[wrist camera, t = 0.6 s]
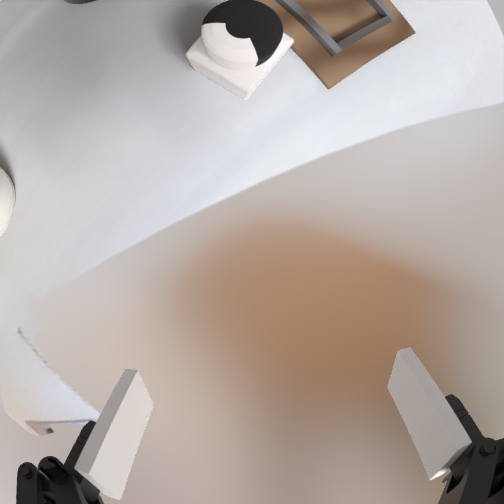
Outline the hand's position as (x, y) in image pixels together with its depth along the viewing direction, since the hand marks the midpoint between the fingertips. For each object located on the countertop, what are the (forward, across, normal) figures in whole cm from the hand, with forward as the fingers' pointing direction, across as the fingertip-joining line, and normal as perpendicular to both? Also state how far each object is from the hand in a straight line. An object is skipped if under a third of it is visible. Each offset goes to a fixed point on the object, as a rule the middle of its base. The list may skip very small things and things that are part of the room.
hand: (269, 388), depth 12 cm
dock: (+20, +12, +32) cm, 39 cm away
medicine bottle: (+21, -1, +23) cm, 31 cm away
